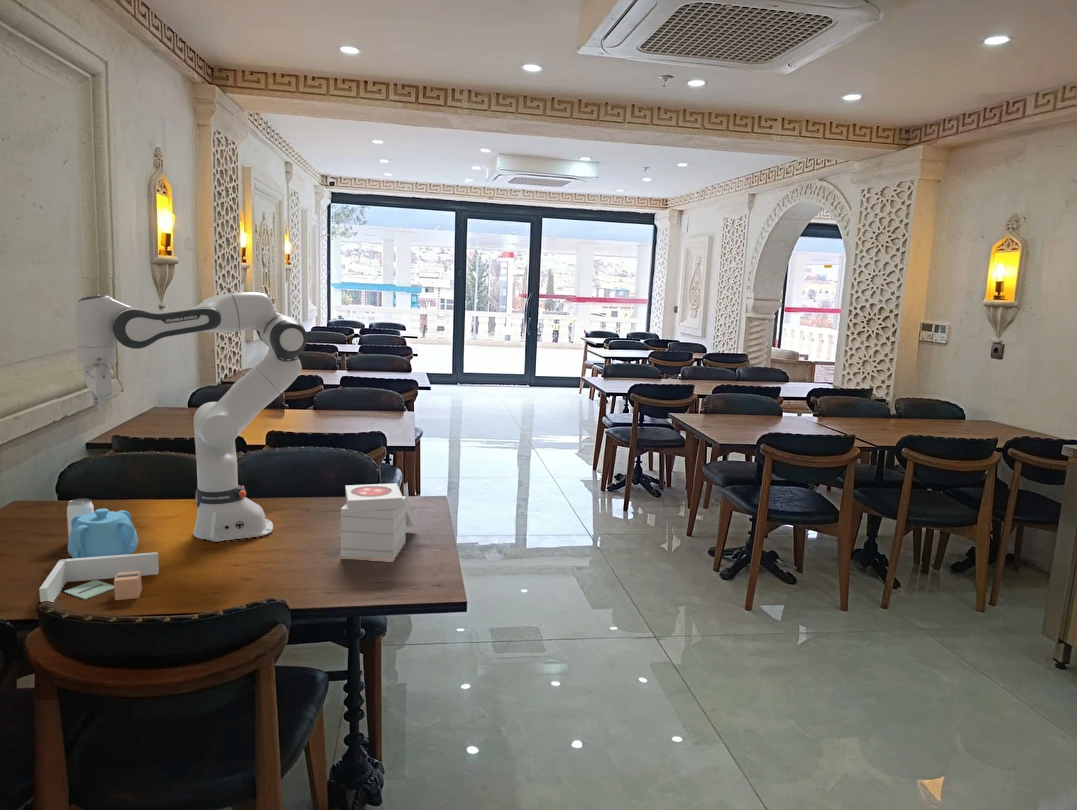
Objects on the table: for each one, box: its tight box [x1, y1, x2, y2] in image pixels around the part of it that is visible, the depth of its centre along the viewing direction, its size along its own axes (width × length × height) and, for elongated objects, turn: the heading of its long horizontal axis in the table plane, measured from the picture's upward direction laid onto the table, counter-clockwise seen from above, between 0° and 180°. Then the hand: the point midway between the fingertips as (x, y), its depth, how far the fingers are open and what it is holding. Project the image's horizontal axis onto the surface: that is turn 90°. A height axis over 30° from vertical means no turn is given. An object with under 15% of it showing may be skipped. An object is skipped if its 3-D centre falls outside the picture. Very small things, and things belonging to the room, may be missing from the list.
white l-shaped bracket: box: [38, 551, 160, 603], centre depth 181 cm, size 22×18×6 cm
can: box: [66, 498, 95, 537], centre depth 211 cm, size 6×6×12 cm
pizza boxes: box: [340, 482, 416, 559], centre depth 218 cm, size 19×30×18 cm, turn 177°
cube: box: [113, 571, 143, 601], centre depth 179 cm, size 5×5×5 cm
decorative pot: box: [67, 508, 139, 559], centre depth 200 cm, size 16×16×14 cm
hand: (100, 407), depth 198 cm, fingers open, 8 cm apart
